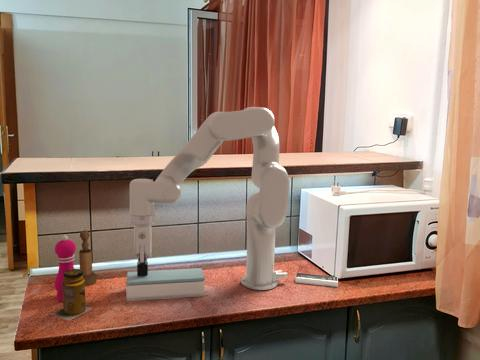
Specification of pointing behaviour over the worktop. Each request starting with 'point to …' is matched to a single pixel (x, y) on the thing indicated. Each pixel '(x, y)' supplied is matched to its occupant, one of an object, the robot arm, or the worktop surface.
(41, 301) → the worktop surface
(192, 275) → the cover
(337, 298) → the worktop surface
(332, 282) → the multiport hub
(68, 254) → the pepper mill
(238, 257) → the worktop surface
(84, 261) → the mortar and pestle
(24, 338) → the worktop surface
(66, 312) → the condiment
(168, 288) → the white open box
